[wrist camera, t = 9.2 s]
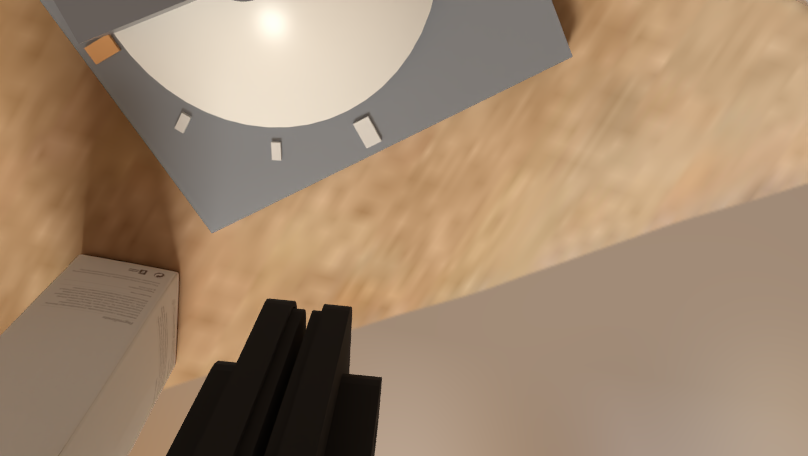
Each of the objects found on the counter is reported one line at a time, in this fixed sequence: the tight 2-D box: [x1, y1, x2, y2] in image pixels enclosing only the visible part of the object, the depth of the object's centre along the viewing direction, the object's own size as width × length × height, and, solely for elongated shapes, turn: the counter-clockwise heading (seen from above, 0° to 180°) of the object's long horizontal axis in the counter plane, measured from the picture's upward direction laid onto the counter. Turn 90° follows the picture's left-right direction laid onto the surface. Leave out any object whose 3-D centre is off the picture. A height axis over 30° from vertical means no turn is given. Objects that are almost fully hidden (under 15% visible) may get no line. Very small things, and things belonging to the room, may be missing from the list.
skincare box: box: [0, 254, 179, 456], centre depth 31 cm, size 8×7×16 cm
